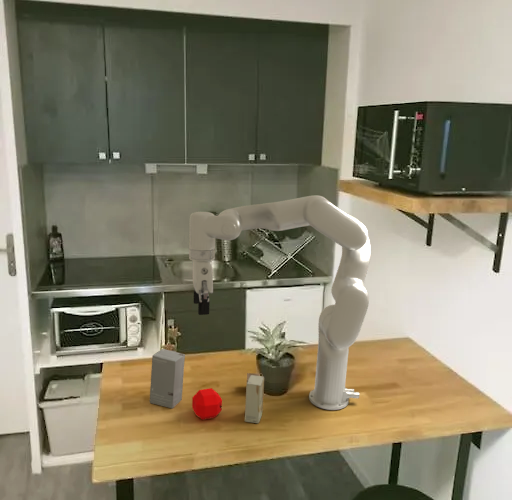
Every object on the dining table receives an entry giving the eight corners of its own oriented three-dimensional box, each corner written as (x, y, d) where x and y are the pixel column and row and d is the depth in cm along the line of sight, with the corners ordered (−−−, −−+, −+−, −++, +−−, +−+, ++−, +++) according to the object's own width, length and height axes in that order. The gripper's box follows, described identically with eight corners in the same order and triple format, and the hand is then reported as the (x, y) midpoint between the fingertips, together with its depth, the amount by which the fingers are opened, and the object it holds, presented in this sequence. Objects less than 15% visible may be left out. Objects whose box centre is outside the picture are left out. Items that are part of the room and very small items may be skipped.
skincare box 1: (149, 403, 161) (149, 356, 157) (160, 393, 168) (161, 347, 164) (173, 409, 158) (174, 361, 155) (184, 398, 165) (185, 352, 161)
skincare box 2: (258, 424, 153) (260, 386, 150) (244, 422, 154) (246, 384, 151) (262, 412, 159) (264, 376, 156) (248, 410, 160) (250, 374, 157)
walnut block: (261, 387, 174) (262, 373, 173) (261, 395, 170) (262, 381, 168) (246, 386, 174) (247, 373, 173) (246, 394, 170) (246, 380, 168)
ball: (223, 420, 154) (224, 396, 152) (197, 424, 151) (198, 400, 149) (215, 406, 161) (216, 383, 160) (190, 410, 158) (190, 387, 157)
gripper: (220, 261, 148) (218, 318, 152) (209, 246, 164) (208, 298, 168) (193, 261, 146) (192, 319, 150) (185, 247, 162) (185, 299, 166)
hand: (201, 308), depth 159 cm, fingers open, 9 cm apart
